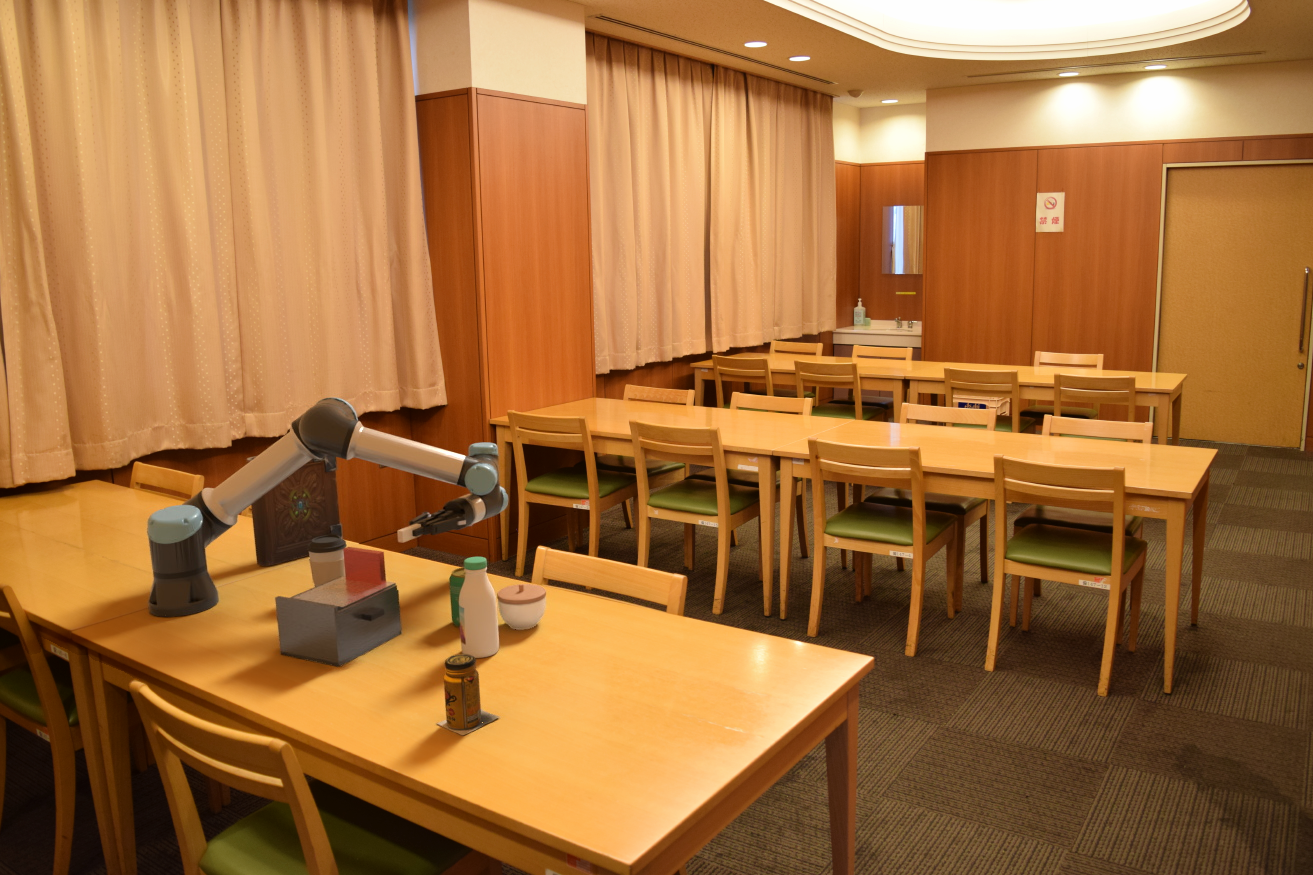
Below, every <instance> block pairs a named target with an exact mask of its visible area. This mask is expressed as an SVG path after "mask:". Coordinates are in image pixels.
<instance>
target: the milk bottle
mask: <svg viewBox="0 0 1313 875" xmlns="http://www.w3.org/2000/svg"><path fill="white" fill-rule="evenodd" d="M487 566H488V561H487V558H486V557H483V556H472V557H467V558H466V559H464V560H463V567H464V568H465V569H464V571H465V572H466V576H465V580H464V583H463V586H462V588H461V591H460V596H459V617H460V628H459V631H460V646H461V647H460V648H461V652H462V653H461V654H468V655H472V656H474V658H475V659H479V658H480V659H481V658H487V657H491V656H494V655H495V654H497V653H498V652H499V649H500V639H499V638H500V637H499V635H500V634H499V621H498V606H497V605H498V602H497V595H496V592H495V589H494V587H493V586H492V582H490V579H489V577H488V574H487V570H488V567H487Z"/></svg>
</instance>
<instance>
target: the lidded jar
mask: <svg viewBox="0 0 1313 875" xmlns="http://www.w3.org/2000/svg"><path fill="white" fill-rule="evenodd" d="M546 597H547V590H546V588H545V587H544V586H541V585H538V584H534V583H533V584H531V583H520V584H512V585H508V586H505V587H503V588H500V589H499V590H498V591H497V594H496V600H497V605H498V606H497V607H498V611H499V614H500V617H501V618H502V621H504V623H505V624H507V625H508V627H509V626H510V627H511V628H510V627H509V628H510V629H512V630H515V629H516V630H517V631H524V629H526V630H531V629H533V628H535V627H536V626H537V625H538V623H539V622H540V621H541V619H542V618H543V617H544V614H545V611H546V604H547V601H546V600H547V599H546ZM536 624H537V625H536ZM534 626H535V627H534ZM532 627H533V628H532ZM530 628H531V629H530Z"/></svg>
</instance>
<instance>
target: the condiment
mask: <svg viewBox="0 0 1313 875" xmlns="http://www.w3.org/2000/svg"><path fill="white" fill-rule="evenodd" d="M476 661H477V660H476V658H474V656H472V655H468V654H463V653H459V654H453V655H451V656H449V657H447V658H445V660H444V668H445V669H444V675H443V688H444V690H443V691H444V700H445V716H446V719H444V720H441V721H440V722H437V723H436V724H437V725H438V726H440V727H442V728H445V729H446V730H448V731H451V732H453V733H456V734H459V735H461V736H464V735H467V734H469V733H472V732H473V731H475V730H478V729H480V728H482V727H484V726H485V725H486V724H489V723H492V722H494V721H495V720H496V719H498V718H501V716H499V715H496V714H493V713H491V712H488V711H485V710H484V709H482V706H481V692H480V691H481V690H480V676H479V672H478V670H477V664H476ZM490 713H491V714H490ZM482 722H483V723H482Z"/></svg>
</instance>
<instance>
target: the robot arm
mask: <svg viewBox="0 0 1313 875" xmlns="http://www.w3.org/2000/svg"><path fill="white" fill-rule="evenodd" d="M289 428H290V429H289V432H288V433H286V434H285V435H284V436H283V437H280V439H278V440H277V441H276V442H274V443H272V444H271V445H270V446H268V447H267V449H265V450H264V451H262V452H261V453H260V454H258V455H256V456H257V457H256V458H254V459H253V460H252V461H250V462H249V463H248V464H247V463H246V464H245V465H244V466H243V467H241V468H240V469H239V470H237V471H236V472H235V473H233V474H232V475H230V476H229V477H227V479H226V480H224V481H223V482H221V483H220V484H218V486H216V487H214V488H212V487H205V488H203V489H202V490H200V491H199V492H198V493H196V494H195V495H194V496H192V497H191V498H189V499H188V500H186V501H184V502H183V503H182V504H178V505H177V504H176V505H172V506H166V507H164V508H163V509H158V510H156V511H154V512H153V513H151V515H150V516H149V517H148V519H147V521H146V523H147V524H146V525H147V529H146V533H147V534H146V535H147V537H148V546H149V551H150V560H151V561H150V562H151V567H152V576H153V581H152V585H151V589H150V594H149V597H148V602H147V603H148V605H147V606H148V611H149V614H150V615H153V616H155V617H156V616H157V617H163V618H165V617H167V618H169V617H170V618H171V617H181V616H182V617H183V616H188V615H193V614H197V613H201V612H203V611H206V610H208V609H211V608H213V607H214V606H215V605H217V604H218V603H219V601H220V598H219V591H218V589H217V586H216V585H215V583H214V581H213V579H212V576H211V575H210V573H209V570H208V564H207V563H208V562H207V553H206V549H207V547H209V545H211V544H212V543H213V542H214V541H216V540H217V539H218V538H219V537H221V536H222V535H224V533H226V532H228V530H230V529H231V528H232V527H233V526H235V525H236V524H237V523H238V518H239V517H238V516H239V514H241V513H242V512H244V511H245V510H246V509H248V508H249V507H251V504H253V503H254V502H255V501H257V500H258V499H259V498H261V497H262V496H263V495H265V494H266V493H267V492H269V491H270V490H271V489H273V488H274V487H275V486H277V485H278V484H279V483H281V482H282V481H283V480H285V479H286V478H287V477H289V476H290V475H291V474H293V473H294V472H295V471H297V470H298V469H299V468H301V467H302V466H303V465H304V464H306V463H307V462H308V461H310V460H311V459H323V458H324V457H325V456H327V455H331V456H335V457H336V458H340V459H343V460H346V461H349V460H351V459H353V458H357V459H360V460H362V461H363V460H364V461H366V462H371V463H374V464H378V465H382V466H385V467H389V468H392V469H397V470H400V471H404V472H408V473H410V474H413V475H414V474H415V475H418V476H422V477H425V478H429V479H433V480H436V481H440V482H444V483H447V484H451V485H455V486H459V487H462V488H465V489H467V490H468V491H469V493H466V494H464V495H462V496H458V497H457V498H454V499H451V500H449V501H447V502H446V503H445V504H444V505H443V507H442V509H439V510H437V511H435V512H433V513H431V514H430V512H428V511H426V510H425V511H423V512H422V514H420V515H417V516H416V517H414V518H413V519H411V520H409V521H408V526H405V527H403V528H401V529H398V530H396V531H397V542H398V543H404V544H405V543H406V542H409V541H410V540H413V539H416V538H419V537H421V536H427V535H429V534H430V536H435V535H439V534H443V533H447V532H450V531H459V530H462V529H465V528H467V527H472V526H473V525H474V524H476V523H478V522H481V521H483V520H486V519H489V518H491V517H495V516H497V515H498V514H500V513H502V512H503V511H504V510H506V509H507V507H508V503H509V495H508V494H507V492H506V489H505V488H504V487H502V486H501V483H500V465H499V464H500V463H499V462H500V461H499V460H500V458H499V457H500V455H499V448H498V445H497V444H496V443H493V442H475V443H472V444H469V446H468V455H464V454H462V453H457V452H453V451H450V450H447V449H443V448H440V447H436V446H433V445H429V444H426V443H421V442H419V441H416V440H415V441H414V440H411V439H407V438H404V437H401V436H397V435H393V434H390V433H386V432H382V431H379V430H376V429H373V428H368V427H365V426H364V425H363V424H362V422H361V421H360V420H359V419H358V414H357V411H356V409H355V408H354V407H353V405H352V404H351V403H349V402H348V401H347V400H345V399H343V398H340V397H325V398H322V399H320V400H318V401H317V402H316V403H315V404H314V405H312V406H311V407H309V409H307V410H306V411H305V412H304V413H302V414H301V415H300V416H298V417H296V419H294V420H293V421H292V422H291V423H290V426H289Z"/></svg>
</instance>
